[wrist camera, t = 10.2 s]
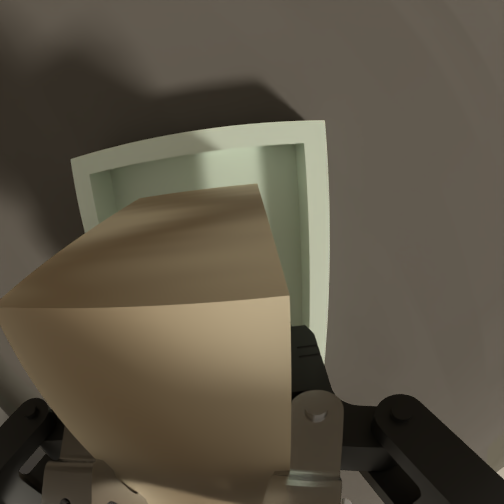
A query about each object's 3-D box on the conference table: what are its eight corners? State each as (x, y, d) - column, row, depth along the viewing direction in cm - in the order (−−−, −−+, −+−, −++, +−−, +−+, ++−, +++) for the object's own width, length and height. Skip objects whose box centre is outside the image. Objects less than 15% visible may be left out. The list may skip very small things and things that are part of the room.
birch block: (258, 182, 9) (296, 297, 3) (274, 395, 13) (289, 527, 6) (138, 198, 9) (-12, 308, 3) (192, 399, 13) (175, 526, 6)
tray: (312, 374, 17) (320, 404, 14) (163, 383, 17) (155, 412, 14) (309, 124, 11) (324, 120, 9) (98, 154, 11) (70, 159, 9)
